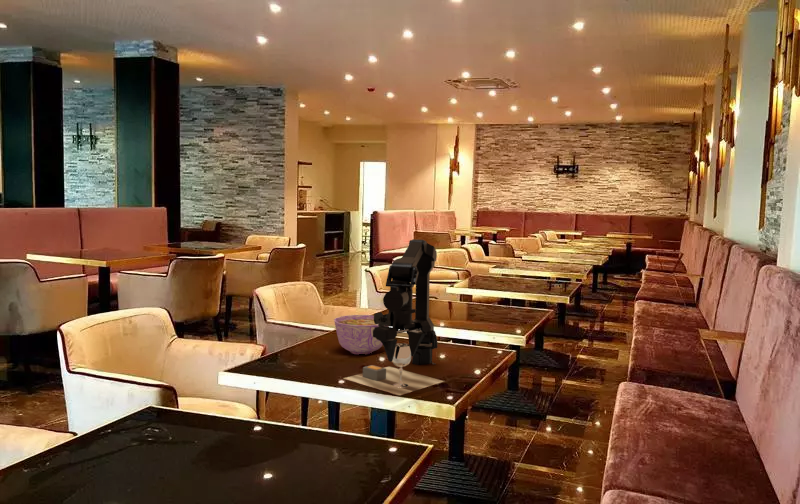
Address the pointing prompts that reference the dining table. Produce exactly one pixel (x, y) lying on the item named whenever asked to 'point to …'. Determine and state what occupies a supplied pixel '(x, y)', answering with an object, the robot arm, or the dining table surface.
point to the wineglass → (401, 360)
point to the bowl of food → (357, 333)
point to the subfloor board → (396, 381)
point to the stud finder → (374, 372)
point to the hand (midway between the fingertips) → (401, 358)
